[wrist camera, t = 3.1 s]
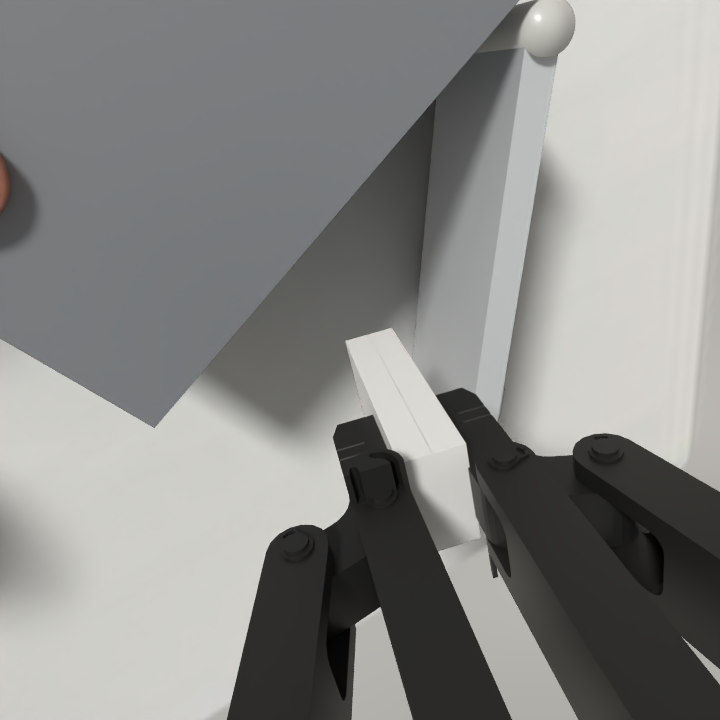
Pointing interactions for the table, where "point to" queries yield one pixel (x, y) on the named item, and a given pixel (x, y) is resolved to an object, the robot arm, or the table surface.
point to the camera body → (191, 164)
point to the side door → (485, 200)
